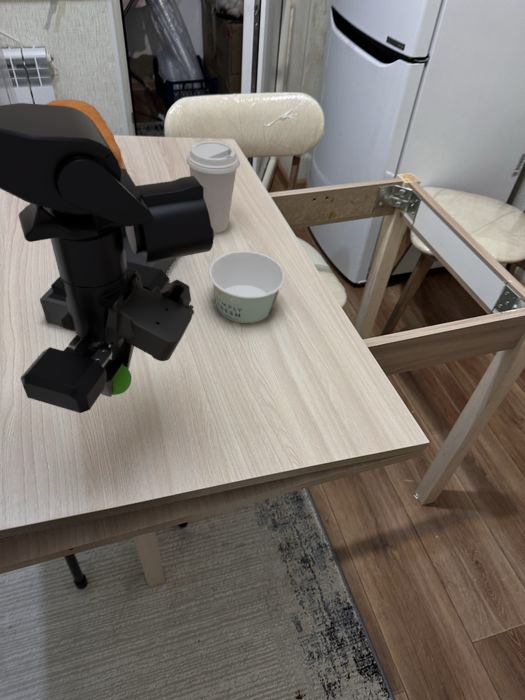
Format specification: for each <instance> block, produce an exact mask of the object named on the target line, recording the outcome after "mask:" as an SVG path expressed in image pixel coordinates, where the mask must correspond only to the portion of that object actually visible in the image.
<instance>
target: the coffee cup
mask: <svg viewBox="0 0 525 700" xmlns="http://www.w3.org/2000/svg"><path fill="white" fill-rule="evenodd" d="M185 161H186V164H187V165H188V167H189V176H194V177H196V179H197V180H198V181H199V182H200V184H201V185H202V186H203V187H204V200H205V203H206V206H207V209H208V213H209V217H210V222H211V227H212V228H213V231H214V235H216V234H220V233H223V232H225V231H227V229H228V228H229V222H230V216H231V215H230V214H231V207H232V201H233V193H234V187H235V181H236V180H235V179H236V173H237V170H238V169H239V168H240V165H241V164H240V159H239V156H238V154H237V152H236V149H235V147H233V146H232V145H230V144H229V143H226V142H223V141H218V140H201V141H198V142H195V143H193V144H192V146H191V147H190V150H189V152H188V153H187V155H186V159H185Z"/></svg>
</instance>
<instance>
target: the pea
mask: <svg viewBox="0 0 525 700" xmlns="http://www.w3.org/2000/svg"><path fill="white" fill-rule="evenodd" d="M131 384H132V374H131V371H130V370H128V368H127V367H125V366H124V365H122V366H121V367H120V369H119V370H118V372H117V373H116V375H115V376H114V378H113V395H112V396H117V395H122V394H123V393H125V392H126V391H128V390H129V388H130V387H131Z"/></svg>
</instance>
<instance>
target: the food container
mask: <svg viewBox="0 0 525 700" xmlns="http://www.w3.org/2000/svg"><path fill="white" fill-rule="evenodd" d="M208 278H209V280H210V282H211V284H212V286H213V293H214V297H215V303H216V308H217V310H218V312H219V313H220V314H221V315H222V316H223V317H224V318H226V319H227V320H230V321H232V322H236V323H239V324H253V323H258V322H261V321H263V320H265V319H266V318H267V317H268V316H270V314H271V313H272V310H273V307H274V305H275V302H276V299H277V297H278V295H279V292H280V290H281V289H282V288H283V286H284V285H285V282H286V272H285V270H284V268H283V266H282V265H281V264H280V263H279V262H278V261H277V260H276V259H274V258H272V257H271V256H268V255H266V254H264V253H261V252H257V251H250V250H237V251H236V250H235V251H230V252H226V253H224V254H222V255H219V256H218V257H217V258H215V259H214V260H213V261H212V262H211V263H210V265H209V267H208Z"/></svg>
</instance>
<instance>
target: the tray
mask: <svg viewBox="0 0 525 700" xmlns="http://www.w3.org/2000/svg"><path fill="white" fill-rule="evenodd" d="M122 232H123V239H124V247H125V255H126V261H129V262H133V263H137V264H141V265H145V266H149V267H153V268H157V269H161V270H162V271H163V272H164V273H165V274H166V273H167V272H168V271H169V269H170V267H171V266H172V265H173V263H174V261H175V260H176V259H177V258H173V259H168V260H163V261H158V262H153V263H149V262H146V261H145V259H144V255H143V251H142V253H137V254H134V253H133V251H132V249H131V246H130V244H129V241H128V237H127V233H126V229H125V226H122ZM39 301H40V305H41V308H42V311H43V315H44V318H45V322H46V323H48V324H52V325H56V326H61V327H63V326H62V323H61V319H62V318H63V317H64V316H65V315H66V314H67V313H68V312H69V309H68V306H67V302H66V298H65V297H62V296H59V295H55V294H53V290H52V286H51V287H50V288H49V289H48V290H47V291H46V292H45V293H44V294H43V295H42V296H41V297H40V298H39Z"/></svg>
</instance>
